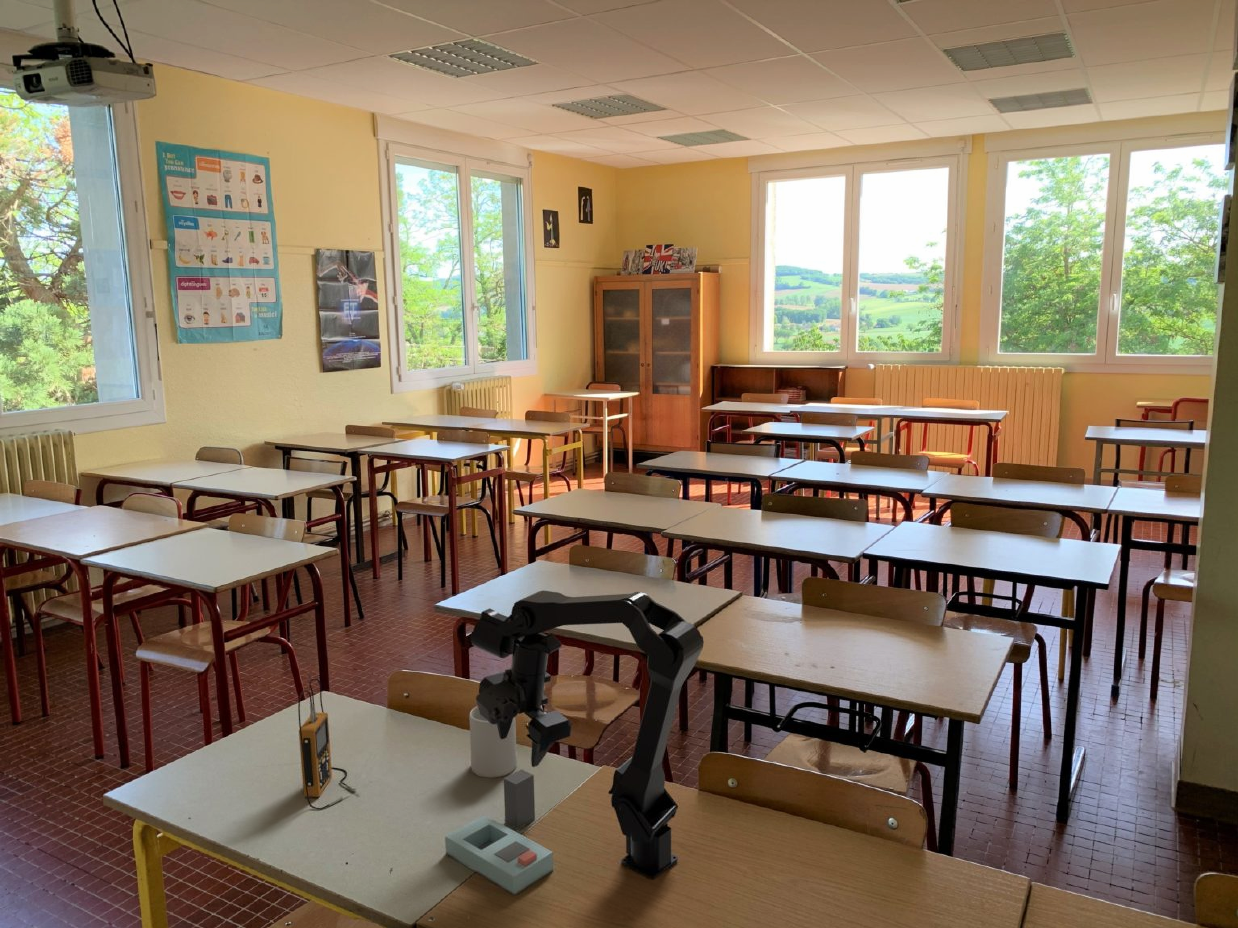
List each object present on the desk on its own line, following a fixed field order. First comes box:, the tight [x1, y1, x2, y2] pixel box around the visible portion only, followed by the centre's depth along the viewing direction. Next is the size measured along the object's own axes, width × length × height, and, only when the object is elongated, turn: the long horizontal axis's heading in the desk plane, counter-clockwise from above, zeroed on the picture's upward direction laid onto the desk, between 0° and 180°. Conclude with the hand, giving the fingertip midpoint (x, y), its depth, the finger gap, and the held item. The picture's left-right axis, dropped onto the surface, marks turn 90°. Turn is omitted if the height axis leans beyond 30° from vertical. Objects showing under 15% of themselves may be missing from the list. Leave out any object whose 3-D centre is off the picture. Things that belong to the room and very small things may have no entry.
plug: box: [503, 769, 536, 830], centre depth 152 cm, size 4×3×8 cm
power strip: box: [444, 814, 554, 896], centre depth 141 cm, size 16×8×4 cm, turn 49°
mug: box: [469, 705, 518, 779], centre depth 172 cm, size 12×8×11 cm
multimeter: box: [297, 678, 362, 810], centre depth 162 cm, size 15×10×20 cm
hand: (518, 751), depth 151 cm, fingers open, 9 cm apart
